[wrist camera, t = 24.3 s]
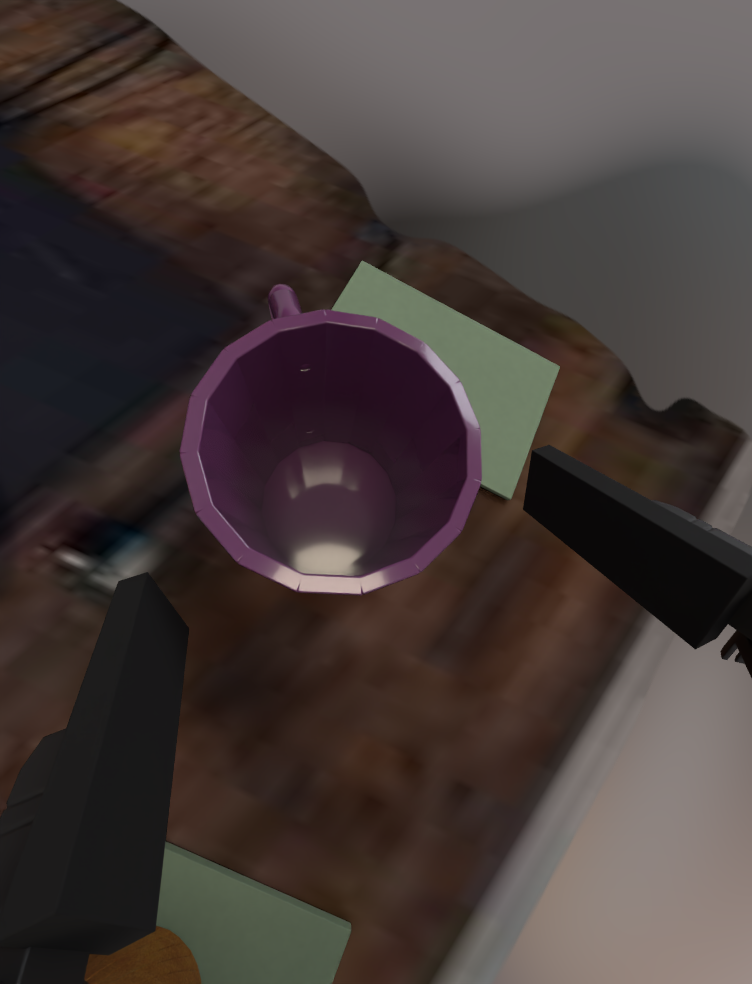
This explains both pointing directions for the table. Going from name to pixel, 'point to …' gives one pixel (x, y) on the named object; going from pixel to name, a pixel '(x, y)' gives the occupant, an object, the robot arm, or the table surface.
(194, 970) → the disposable coffee cup
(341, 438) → the plum mug
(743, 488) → the table surface
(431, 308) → the mug mat
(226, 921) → the cup mat
